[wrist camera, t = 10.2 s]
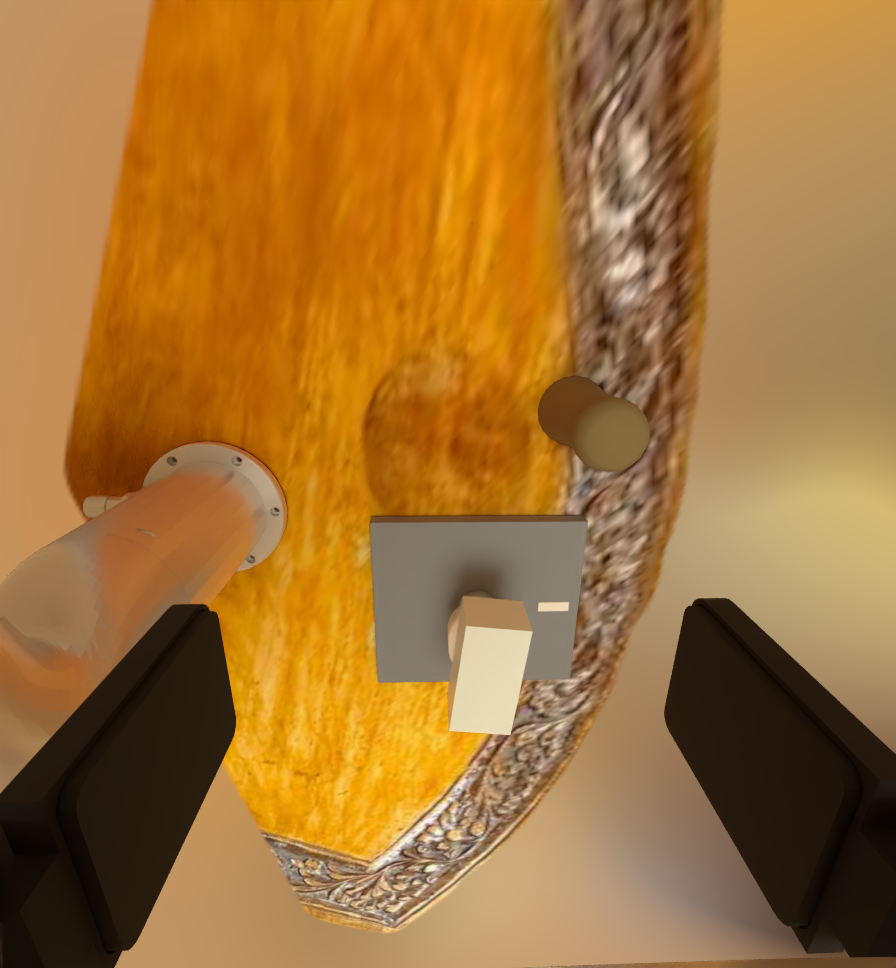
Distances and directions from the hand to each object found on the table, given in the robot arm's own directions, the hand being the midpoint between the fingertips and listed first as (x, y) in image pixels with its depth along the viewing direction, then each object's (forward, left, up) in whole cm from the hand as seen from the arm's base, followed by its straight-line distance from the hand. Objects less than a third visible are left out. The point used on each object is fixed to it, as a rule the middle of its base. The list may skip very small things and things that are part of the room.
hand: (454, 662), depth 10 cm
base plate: (+4, -20, -33) cm, 39 cm away
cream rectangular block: (+4, -20, -29) cm, 35 cm away
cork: (+12, -1, -34) cm, 36 cm away
